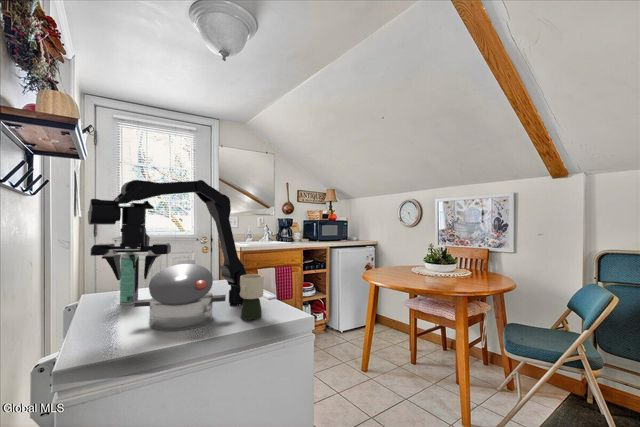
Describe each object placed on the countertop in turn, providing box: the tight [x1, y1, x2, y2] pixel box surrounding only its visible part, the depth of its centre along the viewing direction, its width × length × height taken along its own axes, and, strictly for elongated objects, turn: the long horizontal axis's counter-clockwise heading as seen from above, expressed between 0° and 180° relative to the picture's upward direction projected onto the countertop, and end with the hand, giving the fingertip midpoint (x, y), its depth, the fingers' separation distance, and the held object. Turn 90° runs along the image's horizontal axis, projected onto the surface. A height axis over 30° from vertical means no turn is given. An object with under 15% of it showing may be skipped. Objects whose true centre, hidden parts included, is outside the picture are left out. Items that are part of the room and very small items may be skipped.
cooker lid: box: [148, 259, 214, 305], centre depth 89 cm, size 17×19×3 cm
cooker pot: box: [133, 291, 227, 332], centre depth 90 cm, size 25×17×7 cm
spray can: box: [119, 247, 140, 306], centre depth 108 cm, size 6×6×20 cm
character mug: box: [240, 273, 265, 321], centre depth 93 cm, size 11×7×13 cm, turn 163°
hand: (132, 279), depth 85 cm, fingers open, 6 cm apart
